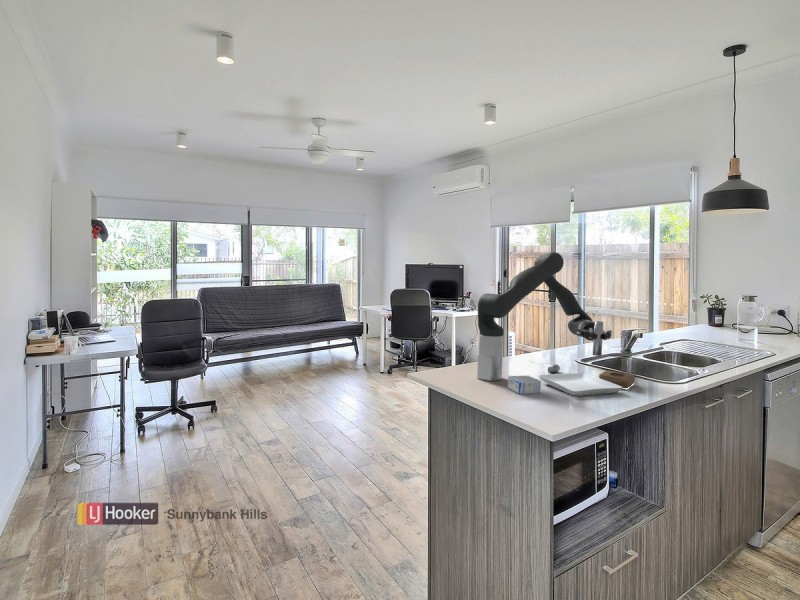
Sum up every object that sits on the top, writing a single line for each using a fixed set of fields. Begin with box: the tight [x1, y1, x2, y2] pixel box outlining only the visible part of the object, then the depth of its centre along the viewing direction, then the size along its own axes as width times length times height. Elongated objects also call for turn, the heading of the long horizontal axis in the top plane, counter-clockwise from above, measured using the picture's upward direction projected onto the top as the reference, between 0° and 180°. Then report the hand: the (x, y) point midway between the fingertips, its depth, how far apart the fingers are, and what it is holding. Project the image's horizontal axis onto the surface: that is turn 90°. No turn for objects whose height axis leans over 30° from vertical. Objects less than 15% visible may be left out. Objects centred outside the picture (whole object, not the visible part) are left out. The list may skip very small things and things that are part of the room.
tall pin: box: [592, 320, 604, 357], centre depth 174 cm, size 3×3×13 cm
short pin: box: [547, 363, 561, 374], centre depth 189 cm, size 3×3×5 cm
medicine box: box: [507, 374, 542, 395], centre depth 161 cm, size 8×4×9 cm
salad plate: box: [538, 372, 623, 397], centre depth 165 cm, size 21×21×3 cm
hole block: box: [598, 369, 636, 388], centre depth 171 cm, size 10×10×4 cm
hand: (600, 337), depth 171 cm, fingers closed on tall pin, 3 cm apart
